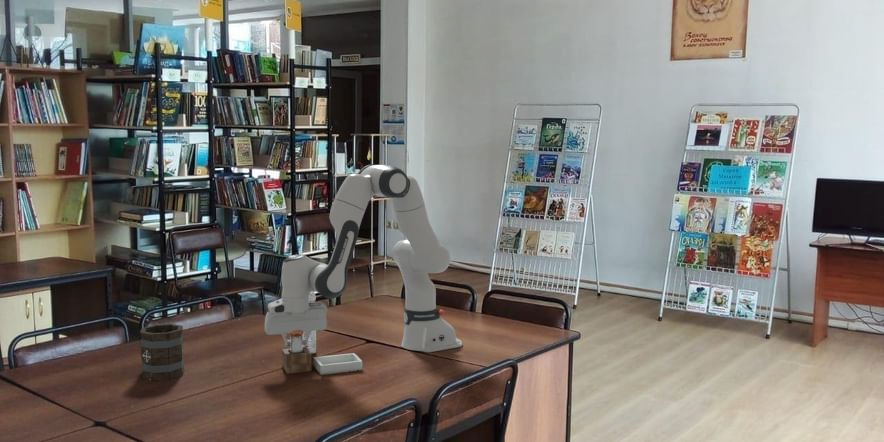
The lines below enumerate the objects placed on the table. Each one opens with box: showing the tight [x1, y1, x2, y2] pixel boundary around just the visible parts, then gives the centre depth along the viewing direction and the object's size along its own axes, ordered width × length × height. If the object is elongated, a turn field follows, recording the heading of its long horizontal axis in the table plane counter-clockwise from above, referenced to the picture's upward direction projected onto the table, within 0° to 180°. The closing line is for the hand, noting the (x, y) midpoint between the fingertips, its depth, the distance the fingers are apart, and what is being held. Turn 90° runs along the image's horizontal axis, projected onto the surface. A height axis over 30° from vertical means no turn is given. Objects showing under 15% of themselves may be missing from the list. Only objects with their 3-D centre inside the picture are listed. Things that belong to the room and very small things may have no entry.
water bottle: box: [302, 291, 317, 356], centre depth 272 cm, size 7×7×25 cm
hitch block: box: [281, 347, 312, 375], centre depth 255 cm, size 8×8×6 cm
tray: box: [313, 352, 363, 376], centre depth 256 cm, size 14×10×3 cm
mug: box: [139, 323, 185, 381], centre depth 250 cm, size 20×14×15 cm
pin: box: [288, 330, 304, 354], centre depth 254 cm, size 5×5×14 cm
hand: (296, 345), depth 254 cm, fingers closed on pin, 4 cm apart
